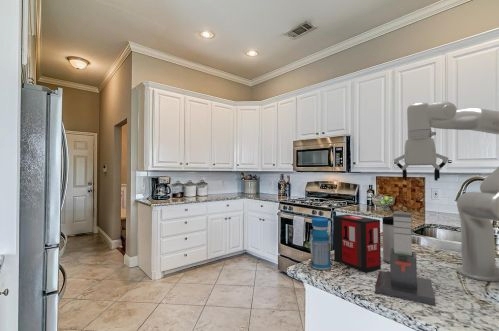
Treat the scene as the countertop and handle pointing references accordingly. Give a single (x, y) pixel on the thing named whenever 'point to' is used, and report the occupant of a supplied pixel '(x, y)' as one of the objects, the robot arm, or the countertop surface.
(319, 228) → the beverage bottle
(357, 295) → the countertop surface
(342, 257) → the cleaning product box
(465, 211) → the robot arm
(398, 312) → the countertop surface
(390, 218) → the travel mug
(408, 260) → the stand
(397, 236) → the post
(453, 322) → the countertop surface
